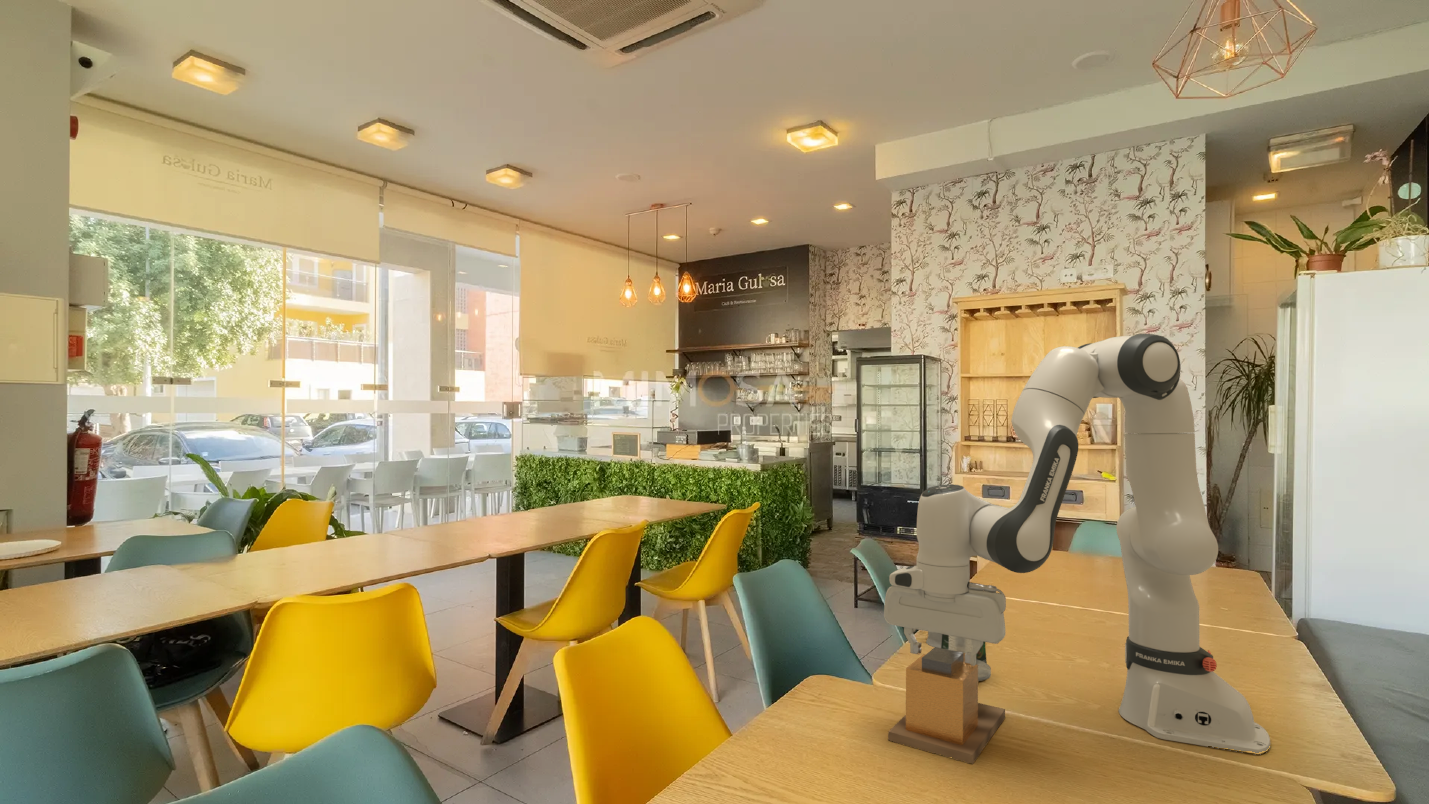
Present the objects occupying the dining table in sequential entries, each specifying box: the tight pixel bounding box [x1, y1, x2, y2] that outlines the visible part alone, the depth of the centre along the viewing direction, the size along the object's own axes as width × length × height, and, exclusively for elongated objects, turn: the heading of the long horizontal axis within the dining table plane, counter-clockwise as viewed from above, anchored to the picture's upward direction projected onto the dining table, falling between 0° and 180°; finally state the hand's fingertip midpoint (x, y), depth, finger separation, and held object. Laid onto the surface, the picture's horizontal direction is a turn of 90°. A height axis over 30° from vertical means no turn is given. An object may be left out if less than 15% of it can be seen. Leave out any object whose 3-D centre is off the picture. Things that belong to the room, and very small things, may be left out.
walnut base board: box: [887, 702, 1006, 765], centre depth 125 cm, size 22×14×2 cm, turn 145°
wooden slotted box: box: [905, 635, 992, 745], centre depth 127 cm, size 22×10×16 cm, turn 145°
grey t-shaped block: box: [922, 647, 963, 676], centre depth 122 cm, size 7×5×12 cm
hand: (942, 658), depth 122 cm, fingers open, 8 cm apart
